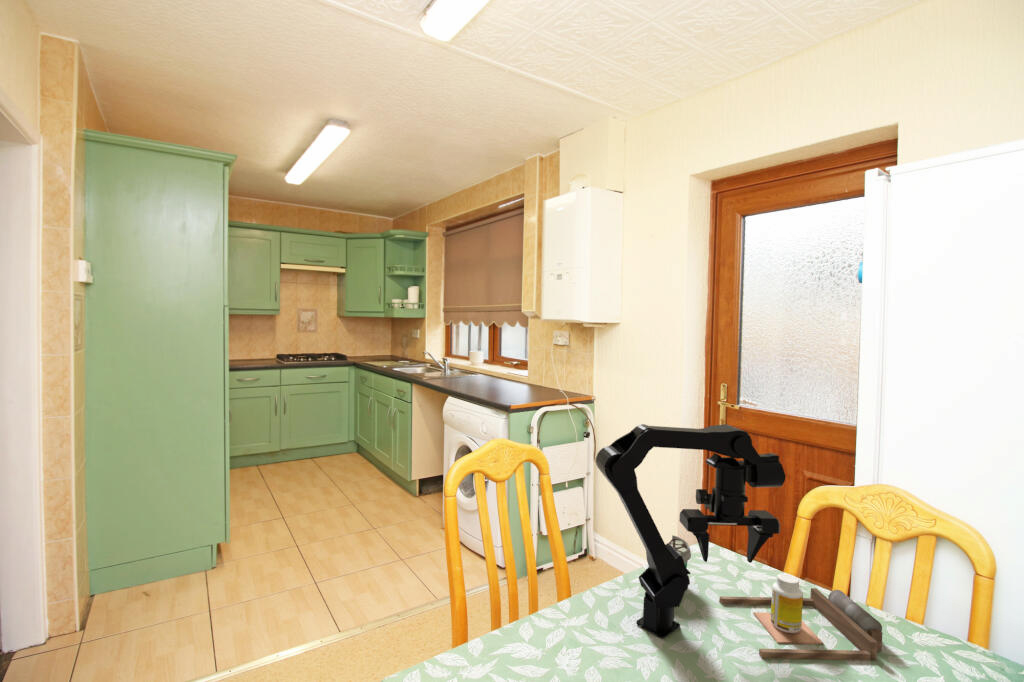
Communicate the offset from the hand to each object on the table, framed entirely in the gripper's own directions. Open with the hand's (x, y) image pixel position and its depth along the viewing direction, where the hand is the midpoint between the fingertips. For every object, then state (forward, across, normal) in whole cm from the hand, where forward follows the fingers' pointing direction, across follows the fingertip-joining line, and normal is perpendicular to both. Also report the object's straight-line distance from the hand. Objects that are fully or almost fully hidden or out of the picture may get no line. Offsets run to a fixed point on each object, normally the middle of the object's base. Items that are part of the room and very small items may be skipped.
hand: (727, 561), depth 106 cm
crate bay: (+13, -14, +2) cm, 19 cm away
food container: (+13, +6, -13) cm, 20 cm away
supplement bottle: (+13, -12, +2) cm, 18 cm away
